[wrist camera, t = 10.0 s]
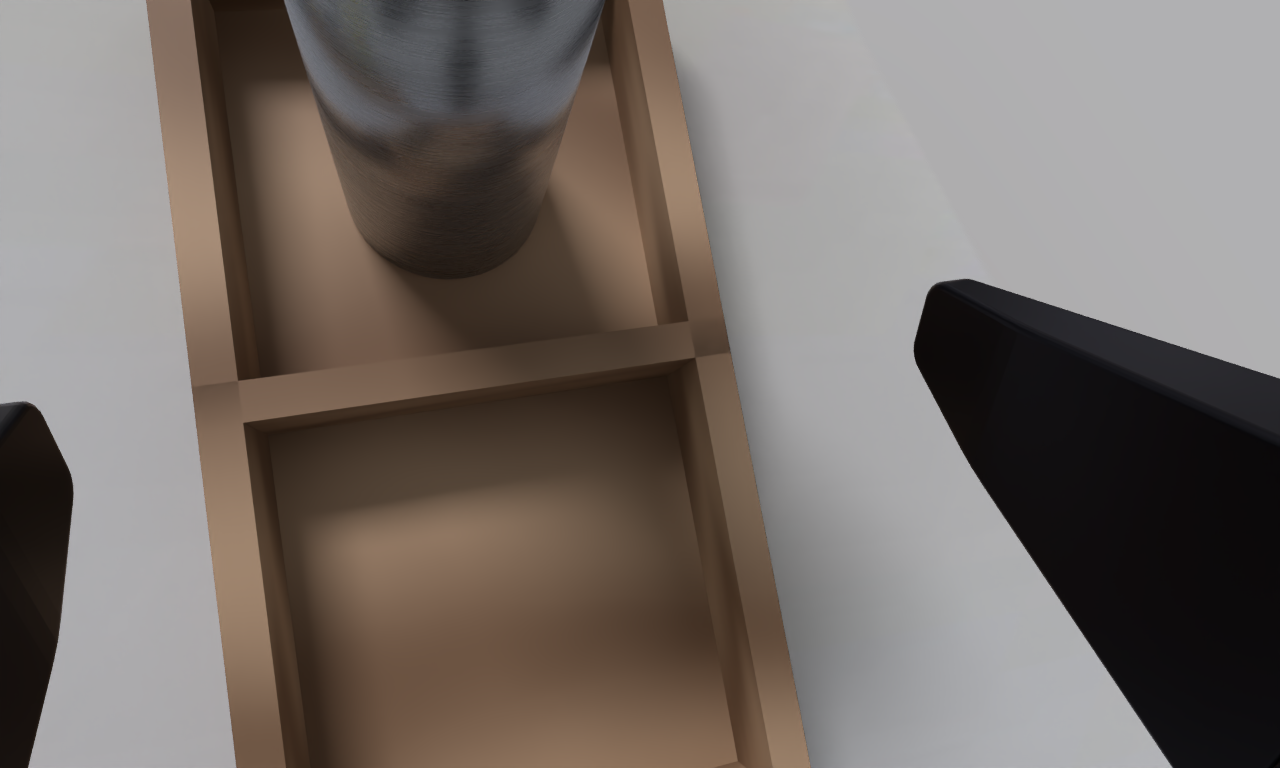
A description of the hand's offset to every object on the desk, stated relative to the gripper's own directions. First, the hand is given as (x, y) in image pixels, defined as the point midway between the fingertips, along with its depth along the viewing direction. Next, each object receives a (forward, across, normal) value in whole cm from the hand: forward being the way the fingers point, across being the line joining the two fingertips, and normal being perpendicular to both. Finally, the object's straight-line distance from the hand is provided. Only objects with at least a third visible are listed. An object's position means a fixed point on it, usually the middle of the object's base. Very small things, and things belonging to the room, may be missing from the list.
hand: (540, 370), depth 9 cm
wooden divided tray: (+10, 0, +7) cm, 12 cm away
